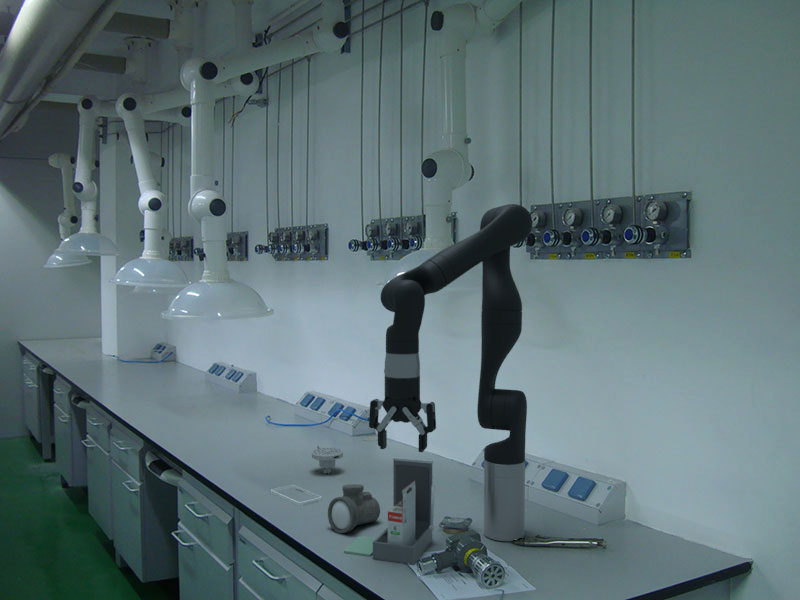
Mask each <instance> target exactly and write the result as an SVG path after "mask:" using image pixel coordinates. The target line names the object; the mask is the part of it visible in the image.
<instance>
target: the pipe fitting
mask: <svg viewBox="0 0 800 600" xmlns="http://www.w3.org/2000/svg"><path fill="white" fill-rule="evenodd" d="M364 487H365V486H364V484H358V483H357V484H353V483H352V484H351V483H350V484H349V483H348V484H343V485H342V489H341V490H342V493H343V495H342V496H337V497H335V498H333V499H332V500H331V501H330V502H329V505H328V507H327V519H328V523H329V525H330V527H331V528H332V530H333V531H335V533H338V534H345V533H350V532H351V531H352V530H353V529H355V527H356V526H359V525H363V524H369V523H373V522H375V521H377V520H378V519H379V518H380V515H381V506H380V503H379V501H378V500H377V499H376V498H375V497H373V496H372V493H371V492H370V491H364V489H365V488H364Z"/></svg>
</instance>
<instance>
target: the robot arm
mask: <svg viewBox="0 0 800 600" xmlns="http://www.w3.org/2000/svg"><path fill="white" fill-rule="evenodd" d="M479 225H480V226H479V231H477V232H475V233H473V234H472V235H470V236H467V237H465V238H464V239H462V240H459V241H457V242H456V243H454V244H452V245H450V246H447V247H446V248H444V249H442V250H441V251H439V252H437V253H436V254H434V255H432V256H431V257H430V258H428V259H426V260H425V261H424V262H422V263H421V264H419V265H418V266H416V267H415V268H412V269H410V270H407V271H406V272H403V273H401V274H399V275H398V276H396V277H393V278H392V279H391V280H389V281H388V282H387V283H386V284H385V285H384V286H383V287H382V289H381V291H380V301H381V304H382V307H384V308H385V310H388V311H389V312H391V313H394V314H393V320H392V321H393V322H392V324H391V325H389V326H388V327H387V329H386V332H385V357H384V358H385V359H384V369H383V373H384V399H383V400H381V399H378V398H374V399H372V400H371V401H370V403H369V404H370V405H369V416H368V427H369V429H374V430H376V431H377V445H378V447H379V448H380V450H385V449H387V445H388V444H387V440H388V439H387V437H388V436H387V435H388V434H387V430H386V428H387V427H388V425H389V424H390V423H391V422H392V421H393V422H394V423H400V422H401V423H411V424H412V426H413V427H414V428H415V429H416V430H417V432H418V433H419V434H418V452H419V453H424V452H425V450H426V449H427V448H428V434H430V433H432V432H434V431H435V430H436V429H437V421H436V404H435V402H433V401H430V402H422V401H421V361H420V335H419V334H420V329H421V326H422V322H423V317H424V313H425V305H426V298H425V296H426V295H430V294H434V293H437V292H439V291H441V290H443V289H444V288H446V287H447V286H449V285H450V284H451V283H453V282H454V281H456V280H457V279H459V278H460V277H462V276H463V275H464V274H466V273H467V272H469V271H470V270H472V269H473V268H474V267H476V266H478V265H479V264H481V263H482V267H481V268H482V277H481V278H482V279H481V280H482V283H481V286H482V288H481V289H482V290H481V291H482V292H481V293H482V297H481V316H480V317H481V325H480V326H481V336H480V337H481V348H480V349H481V352H480V354H481V356H480V357H481V358H480V373H479V383H478V384H479V385H478V394H477V395H478V396H477V406H476V407H477V412H476V413H477V421H478V424H479V425H480V426H479V427H481V428H483V429H486V430H487V429H488V430H497V431H508V432H509V436H508V437H506V438H505V439H502V440H499V441H496V442H492V443H490V444H487V445H486V446H485V447H484V451H483V458H484V460H483V466H484V467H483V479H484V480H483V495H484V496H483V534H484V536H485V537H487V538H489V539H490V540H495V541H499V542H514V541H513V540H515V539H519V538H522V539H523V538H524V537H525V533H526V532H525V531H526V529H525V528H526V527H525V526H526V525H525V522H526V513H525V512H526V507H525V506H526V503H525V502H526V433H527V432H526V431H527V430H526V429H527V414H528V403H527V397H526V394H525V393H524V391H522V390H518V389H505V388H504V389H502V388H496V382H497V377H498V373H499V370H500V369H501V367H502V365H503V363H504V361H505V359H506V358H507V356H509V354H510V352H511V351H512V350H513V348H514V346H515V345H516V343H517V342H518V340H519V338H520V336H521V333H522V330H523V329H522V326H523V303H522V297H521V295H520V292H519V289H518V287H517V285H516V282H515V280H514V278H513V275H512V271H511V247H512V246H514V245H517V244H520V243H522V242H524V241H525V240H526V239H527V238H528V237H529V235H530V234H531V232H532V229H533V218H532V215H531V213H530V212H529V210H528V209H527V208H526V207H525V206H522V205H521V204H515V203H514V204H513V203H510V204H505V205H500V206H496V207H492V208H490V209H488V210H487V211H486V212H485V213H484V214H483V215H482V217H481V219H480V224H479ZM382 407H383V409H384V410H385V413H386V414H385V416H383V418H382V419H381V421H380V422H379V415H380V414H379V413H380V410H381V409H382ZM421 409H422V410H423V412H424V414H426V424H425V423H424V420H423V418H422V416H421V415H420V414H419V413H420V411H421Z"/></svg>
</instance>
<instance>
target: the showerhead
mask: <svg viewBox="0 0 800 600" xmlns="http://www.w3.org/2000/svg"><path fill="white" fill-rule="evenodd" d="M316 448H317V449H315V450H313V451H311V458H312V459H314V460H316V461H318V462H319V464H318V465H319V468H321V469H323V473H324V474H326V473H328V474H331V473H332V468H335V467H336V460H340V459H341V458H343V456H344V452H343V450H342V449H341V448H340V449H339V448H336V447H323V448H321V446H319V445H317V446H316ZM330 472H331V473H330Z"/></svg>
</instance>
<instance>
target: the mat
mask: <svg viewBox="0 0 800 600" xmlns="http://www.w3.org/2000/svg"><path fill="white" fill-rule="evenodd" d="M376 538H377V537H370V536H363V535H359V536H358V537H357V538H356V539H355V540H354V541H353V542H352V543H350V544H349V546H347V547H345V549H344V550H343V553H345V554H351V555H359V556H365V557H371V556H373V541H374V540H375V539H376Z"/></svg>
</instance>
